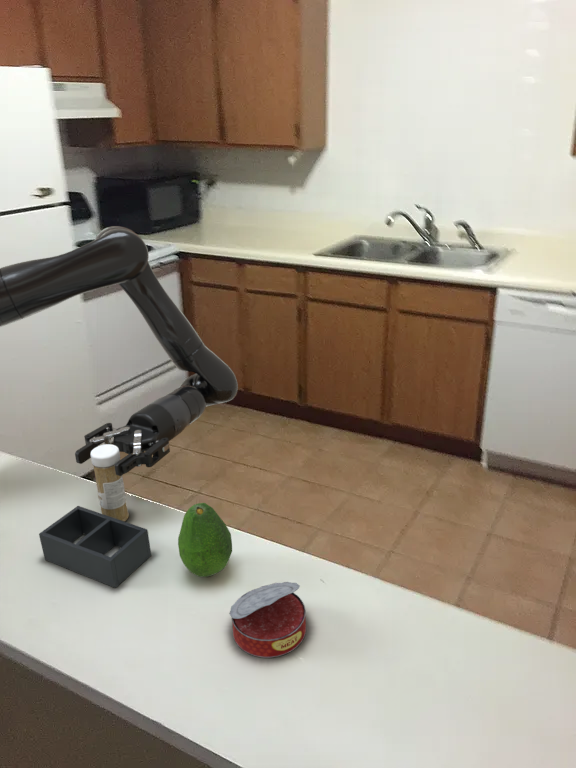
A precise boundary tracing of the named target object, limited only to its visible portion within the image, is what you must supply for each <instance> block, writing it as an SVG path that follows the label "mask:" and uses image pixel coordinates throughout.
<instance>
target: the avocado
mask: <svg viewBox="0 0 576 768" xmlns="http://www.w3.org/2000/svg"><path fill="white" fill-rule="evenodd" d="M177 545H178V554H179V557H180V559H181V561H182V563H183V565H184V566H185V568H186V569H187V570H188V571H189V572H190V573H191V574H193V575H195V576H197V577H201V578H202V577H206V578H207V577H211V576H213V575H216V574H218V573H219V572H221V571H222V570H224V569H225V568H226V566H227V565H228V563H229V561H230V559H231V556H232V553H233V541H232V533H231V531H230V530H229V527H227V524H226V523H225V522H224V520H223V519H222V518H221V517H220V515H219V514H218V512H217V511H216V510H215V509H214V508H213V507H212V506H210V505H209V504H207V503H206V502H198V503H195V504H193V505H191V506H190V507H189V508H188V509H187V511H186V512H185V513H184V515H183V518H182V522H181V527H180V529H179V534H178V538H177Z"/></svg>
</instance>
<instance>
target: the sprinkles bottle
mask: <svg viewBox="0 0 576 768" xmlns="http://www.w3.org/2000/svg"><path fill="white" fill-rule="evenodd" d="M90 455H91V458H90V460H91V461H90V462H91V464H92V466H93V471H94V477H95V484H96V485H95V486H96V491H97V497H98V502H99V506H100V511H101V514H104V515H107V516H110V517H113V518H116V519H118V520H121V521H124V522H127V520H128V519H129V516H130V513H129V510H128V506H127V496H126V489H125V482H124V477H123V476H124V475H122V476H118V475H116V472H115V464H116V463H117V462H118V461H120V460H121V452H119V448H118V447H117V446H115V445H114V444H111V443H110V444H105V443H104V444H100V445H99V446H98V447H96V448H94V449H93V450H92V451H91V454H90Z"/></svg>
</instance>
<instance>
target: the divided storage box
mask: <svg viewBox="0 0 576 768" xmlns="http://www.w3.org/2000/svg"><path fill="white" fill-rule="evenodd" d="M82 535H85V536H83V537H82ZM38 536H39V541H40V545H41V549H42V555H43V558H44V560H45V561H47V562H50V563H52V564H53V565H54V564H55V565H57V566H59V567H62V568H63V569H67V570H70V571H71V572H74V573H77V574H79V575H81V576H84V577H87V578H89V579H92V580H94V581H97V582H99V583H102V584H104V585H107V586H109V587H112V588H114V589H116V588H117V587H118V586H119V585H120V584H122V583H123V582H124V581H125V580H127V578H128V577H130V575H132V574H133V573H134V572H135V570H137V569H138V568H139V567H140V566H141V565H142V564H143V563H145V562H147V560H148V559H149V558H150V557H152V550H151V544H150V537H149V530H148V528H145V527H142V526H139V525H135V524H133V523H130V522H127V521H125V522H124V521H121V520H118V519H116V518H113V517H110V516H107V515H104V514H102V512H98V511H95V510H92V509H89V508H86V507H83V506H81V505H77V506H76V507H74V508H72V509H71V510H69V512H66V514H63V516H61V517H60V518H58V519H57V520H56V521H54V522H53V523H51V524H50V525H49V526H47V527H46V528H45V529H43V530H42V531H41V532H40V533H38ZM80 537H82V538H81V539H80V540H78V541H77V542H74V541H76V540H77V539H78V538H80ZM114 547H117V548H119V549H118V550H116V552H114V553H113V554H112V555H111V556H109V555H105V554H106V553H108V552H109V551H110V550H112V548H114Z"/></svg>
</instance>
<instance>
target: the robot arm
mask: <svg viewBox="0 0 576 768" xmlns="http://www.w3.org/2000/svg"><path fill="white" fill-rule="evenodd" d="M149 257H150V256H149V250H148V246H147V245H146V242H145V241H144V240H143V239H142V237H141V236H139V234H137V233H136V232H135V231H134V230H132V229H131V228H128V227H125V226H122V225H121V226H120V225H111V226H108V227H105V228H104V229H102V230H100V231H99V233H98V234H97V235H96V237H95V238H94V240H92V241H90V242H88V243H86V244H84V245H82V246H79V247H76V248H75V249H72V250H70V251H67V252H64V253H61V254H59V255H53V256H50V257H43V258H37V259H32V260H26V261H22V262H17V263H13V264H9V265H5V266H1V267H0V328H2V327H4V326H5V327H6V326H8V325H11V324H13V323H15V322H16V323H17V322H18V321H21V320H24V319H26V318H30V317H31V316H33V315H35V314H38V313H40V312H43V311H45V310H48V309H50V308H52V307H55V306H57V305H59V304H61V303H63V302H66V301H68V300H69V299H72V298H74V297H76V296H79V295H82V294H85V293H88V292H92V291H96V290H99V289H103V288H106V287H111V286H115V285H118V286H119V287H120V288H121V289H122V290H123V291H124V293H125V294H126V295H127V296H128V298H129V299H130V300H131V302H132V304H134V305H135V307H136V308H137V310H138V311H139V313H140V314H141V316H142V317H143V319H144V322H146V324H147V326H148V327H149V329H150V330H151V332H152V334H153V335H154V338H155V339H156V340H157V342H158V343H159V345H160V346H161V348H162V350H163V351H164V352H165V354H166V355H167V356H168V358H169V359H170V360H171V362H172V363H173V365H174V366H175V367H176V368H177V369H178V370H179V371H181V372H190V373H194V374H191V375H190V376H188V377H186V379H184V381H183V382H182V383H181V384H180V385H179V386H178V387H177V388H175V389H174V390H172V391H171V392H168V393H166V395H164V396H161V397H159V398H157V399H155V400H154V401H152V402H150V403H149V404H147V405H146V406H144V407H142V408H141V409H139V410H137V411H136V412H134V413H133V414H132V415H131V416H130V417H129V418H128V420H127V423H126V424H125V425H124V426H120V427H118V428H115V427H113V423H112V422H106V423H104V424H103V425H101V426H99V427H97V428H96V429H94V430H91V432H88V433H87V434H84V442H85V443H84V444H85V445H83V446H82V447H80V448H78V449H77V450H75V453H74V456H75V462H76V464H79V465H82V464H84V463H85V462H87V461H88V460H91V455H90V454H91V451H92V450H93V449H94V448H96V447H98V446H101V445H103V444H104V445H105V444H111V443H110V441H111V440H112V439H113V445H115V446H117V447H118V448H119V452H120V453H124V454H127V455H125V456H124V457H122V458H120V461H118V462H117V463H116V464H115V472H116V475H118V476H124V475H125V474H127V473H129V472H130V471H132V470H133V469H134V468H136V467H137V468H138V467H142V466H143V465H145V467H146V468H152V467H154V466H155V465H156V464H157V463H158V462H160V461H161V460H162V459H163V458H164V457H166V456H167V455H168V454H169V453H170V452H171V449H170V441H172V440H173V439H175V438H176V437H177V436H179V435H180V434H181V433H182V432H183V431H184V430H186V428H187V427H189V426H190V425H192V424H193V423H194V422H196V421H197V420H198V419H200V418H201V417H202V416H203V414H204V413H205V412H206V408H207V407H210V406H214V405H219V404H224V403H229V402H230V401H232V400H234V398H235V397H236V396H237V395H238V392H239V391H238V390H239V382H238V380H237V379H238V378H237V376H236V373H234V371H233V370H232V368H231V367H230V366H229V365H228V364H227V363H225V361H223V360H222V358H220V357H219V356H218V355H217V354H216V353H215V352H213V351H212V350H211V349H210V348H208V347H207V346H206V344H205V343H204V341H203V340H202V338H201V337H200V336H199V333H198V332H197V331H196V330H195V328H194V327H193V325H192V324H191V322H190V321H189V320H188V318H187V317H186V315H185V314H184V313H183V312H182V311H181V309H180V308H179V306H178V305H177V304H176V303H175V302H174V300H173V299H172V298H171V296H170V295H169V294H168V292H167V291H166V290H165V288H164V287H163V285H162V284H161V282H160V280H159V279H158V278H157V276H156V274H155V273H154V271H153V269H152V267H151V265H150V262H149Z"/></svg>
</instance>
